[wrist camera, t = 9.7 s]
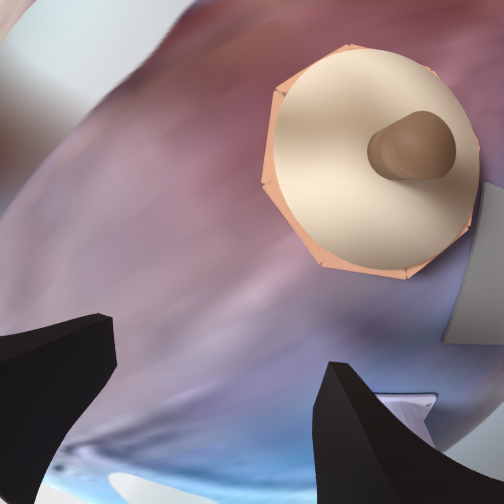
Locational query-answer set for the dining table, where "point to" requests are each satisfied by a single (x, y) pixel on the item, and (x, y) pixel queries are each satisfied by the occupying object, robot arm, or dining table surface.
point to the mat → (482, 278)
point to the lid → (376, 159)
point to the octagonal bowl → (278, 198)
